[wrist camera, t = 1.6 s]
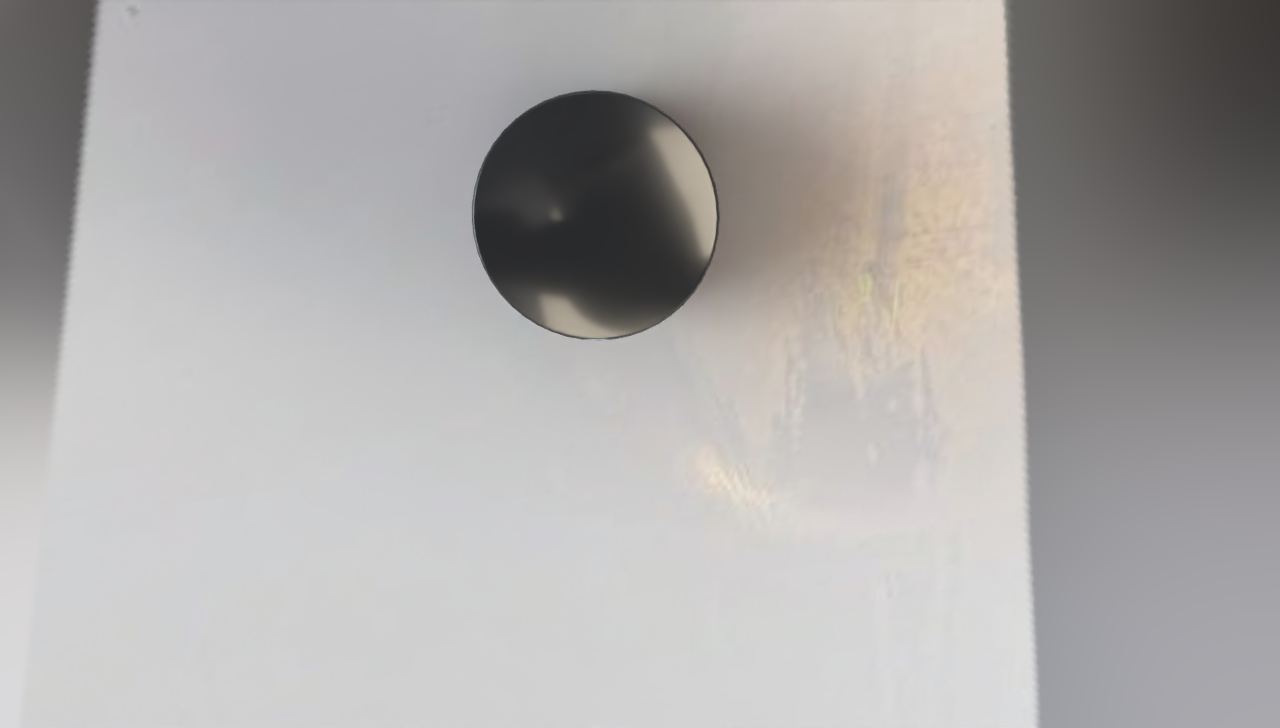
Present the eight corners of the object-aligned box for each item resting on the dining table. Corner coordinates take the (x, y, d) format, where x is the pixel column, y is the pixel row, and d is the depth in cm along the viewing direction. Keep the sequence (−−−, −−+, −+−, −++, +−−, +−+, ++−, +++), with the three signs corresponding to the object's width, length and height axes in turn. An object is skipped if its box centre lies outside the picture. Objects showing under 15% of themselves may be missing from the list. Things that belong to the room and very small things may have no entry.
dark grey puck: (458, 187, 24) (420, 197, 20) (622, 52, 23) (615, 35, 19) (589, 348, 25) (577, 387, 21) (751, 223, 24) (769, 240, 20)
